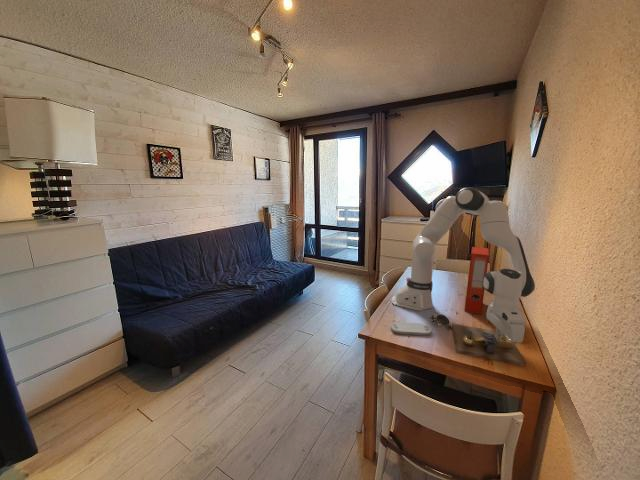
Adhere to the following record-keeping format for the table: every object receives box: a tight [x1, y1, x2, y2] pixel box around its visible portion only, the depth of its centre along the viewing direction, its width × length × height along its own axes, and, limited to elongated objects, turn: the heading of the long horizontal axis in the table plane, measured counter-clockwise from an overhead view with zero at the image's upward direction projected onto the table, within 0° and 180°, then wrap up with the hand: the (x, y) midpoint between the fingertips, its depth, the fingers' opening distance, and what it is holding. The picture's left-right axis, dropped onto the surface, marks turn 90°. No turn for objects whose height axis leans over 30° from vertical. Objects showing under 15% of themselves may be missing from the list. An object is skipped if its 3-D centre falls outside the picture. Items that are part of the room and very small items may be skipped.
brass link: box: [463, 331, 513, 348], centre depth 109 cm, size 18×4×5 cm, turn 83°
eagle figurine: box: [429, 312, 452, 330], centre depth 127 cm, size 8×7×9 cm
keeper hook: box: [482, 332, 498, 355], centre depth 106 cm, size 4×7×5 cm, turn 158°
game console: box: [390, 321, 433, 336], centre depth 123 cm, size 18×2×8 cm
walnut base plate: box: [451, 323, 526, 367], centre depth 112 cm, size 23×22×2 cm
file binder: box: [464, 246, 490, 315], centre depth 144 cm, size 8×17×32 cm, turn 149°
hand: (500, 339), depth 111 cm, fingers closed
